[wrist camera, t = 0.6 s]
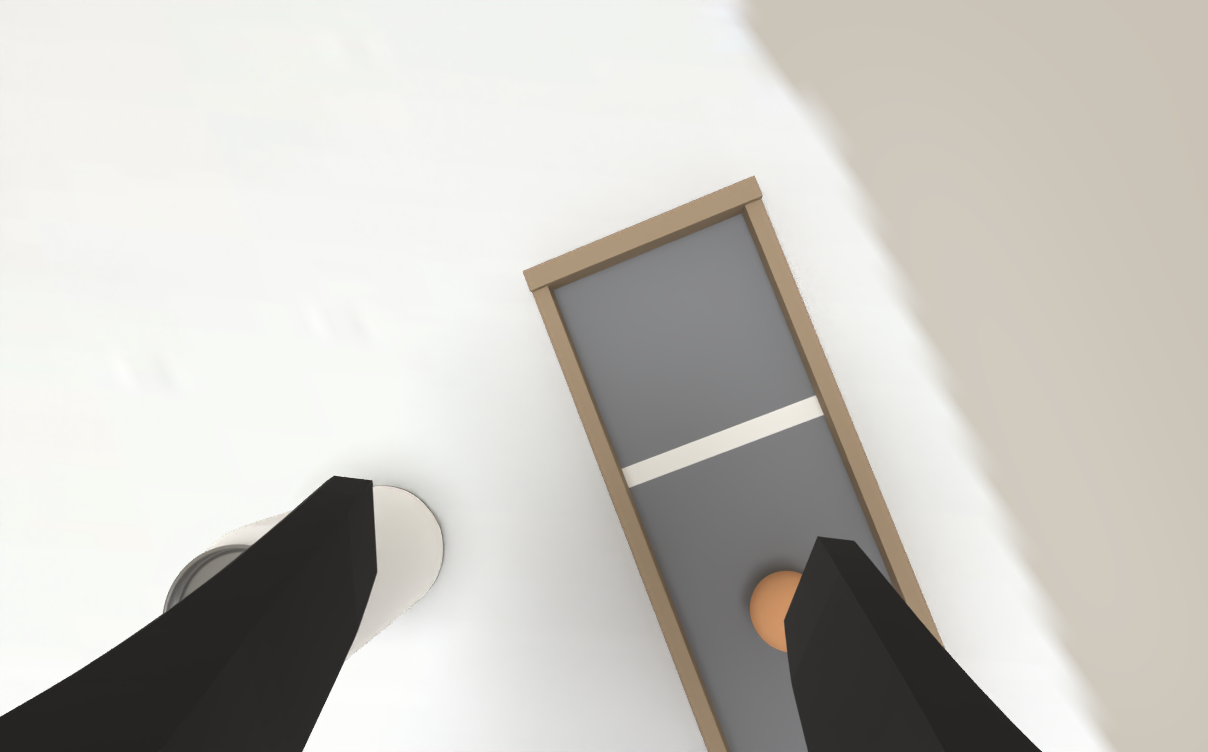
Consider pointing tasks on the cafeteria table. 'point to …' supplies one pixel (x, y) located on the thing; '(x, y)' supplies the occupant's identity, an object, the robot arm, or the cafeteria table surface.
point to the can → (401, 550)
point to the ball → (773, 606)
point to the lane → (715, 441)
